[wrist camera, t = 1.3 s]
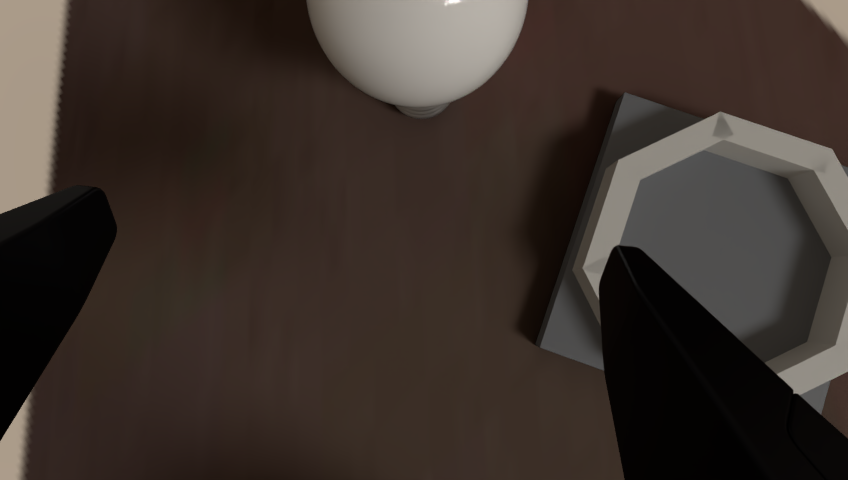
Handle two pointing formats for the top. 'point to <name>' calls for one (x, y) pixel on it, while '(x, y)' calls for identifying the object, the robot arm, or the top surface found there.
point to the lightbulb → (417, 46)
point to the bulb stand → (717, 237)
